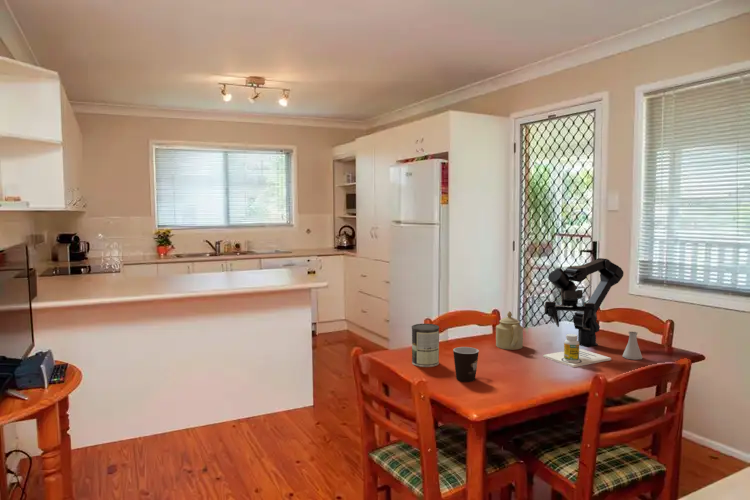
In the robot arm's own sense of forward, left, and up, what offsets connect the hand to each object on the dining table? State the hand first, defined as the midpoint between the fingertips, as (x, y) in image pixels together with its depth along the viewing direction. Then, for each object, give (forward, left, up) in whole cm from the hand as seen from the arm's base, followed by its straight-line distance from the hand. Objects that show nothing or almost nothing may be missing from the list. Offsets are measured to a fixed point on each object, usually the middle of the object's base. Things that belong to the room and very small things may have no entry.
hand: (570, 326), depth 202 cm
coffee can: (-20, -54, -12) cm, 59 cm away
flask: (+11, +21, -12) cm, 27 cm away
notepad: (+2, +1, -12) cm, 12 cm away
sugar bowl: (-22, -10, -12) cm, 27 cm away
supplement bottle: (+5, -5, -11) cm, 13 cm away
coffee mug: (+2, -50, -12) cm, 51 cm away
